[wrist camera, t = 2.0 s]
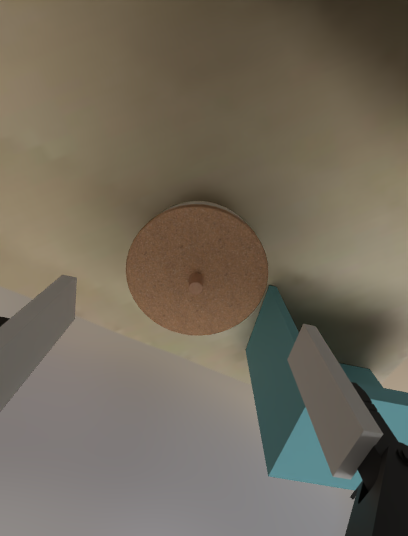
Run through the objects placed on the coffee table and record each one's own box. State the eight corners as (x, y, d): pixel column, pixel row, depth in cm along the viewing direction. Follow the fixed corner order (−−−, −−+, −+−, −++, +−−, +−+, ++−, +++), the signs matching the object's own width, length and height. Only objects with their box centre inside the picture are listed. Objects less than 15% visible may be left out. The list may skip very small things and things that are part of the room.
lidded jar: (244, 179, 25) (263, 194, 16) (259, 282, 29) (281, 337, 20) (133, 203, 26) (95, 230, 17) (163, 299, 30) (144, 359, 21)
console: (269, 285, 29) (315, 388, 16) (403, 314, 30) (543, 431, 17) (245, 350, 32) (268, 476, 20) (366, 373, 34) (460, 507, 21)
